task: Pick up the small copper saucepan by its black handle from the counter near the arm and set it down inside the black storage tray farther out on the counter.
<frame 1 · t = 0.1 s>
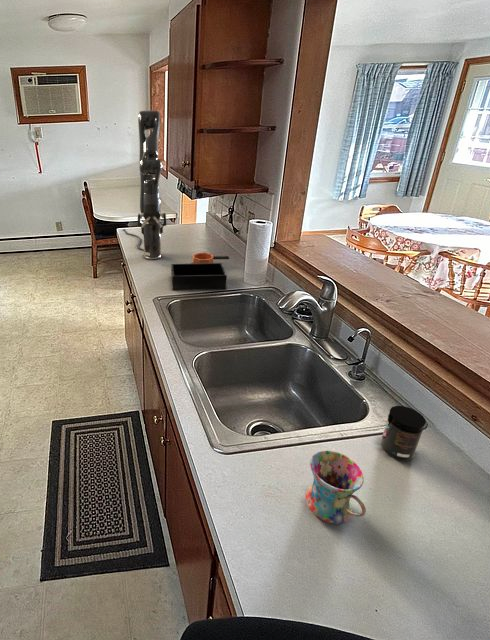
hand: (152, 234, 195), 17 cm above the counter, tool pointing down, fingers open, 8 cm apart
mug: (332, 512, 79), on the counter
pan: (202, 264, 201), on the counter
supplement container: (396, 450, 92), on the counter
black storage tray: (197, 282, 181), on the counter
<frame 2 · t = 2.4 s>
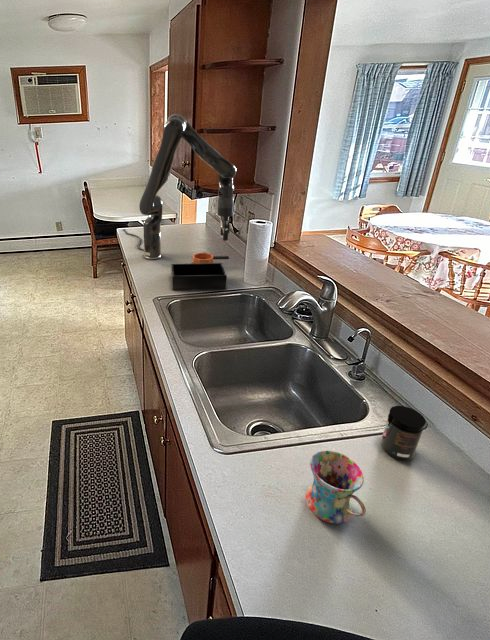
hand: (223, 237, 194), 14 cm above the counter, tool pointing down, fingers open, 8 cm apart
nothing on the counter moved.
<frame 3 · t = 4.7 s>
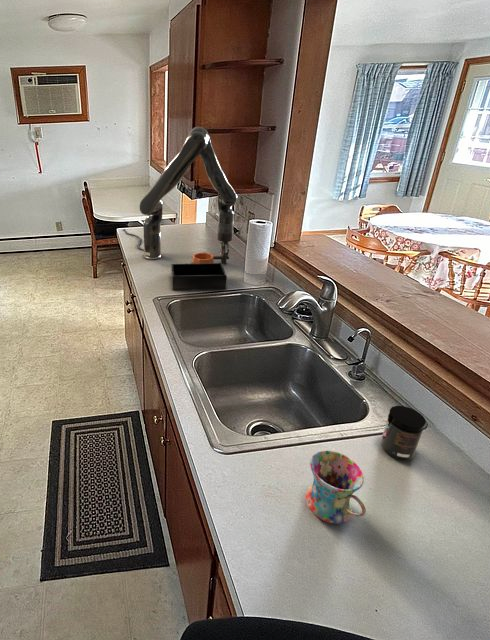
hand: (223, 263, 200), 0 cm above the counter, tool pointing down, fingers closed on pan
pan: (202, 264, 201), on the counter, touching gripper
everything else where it was.
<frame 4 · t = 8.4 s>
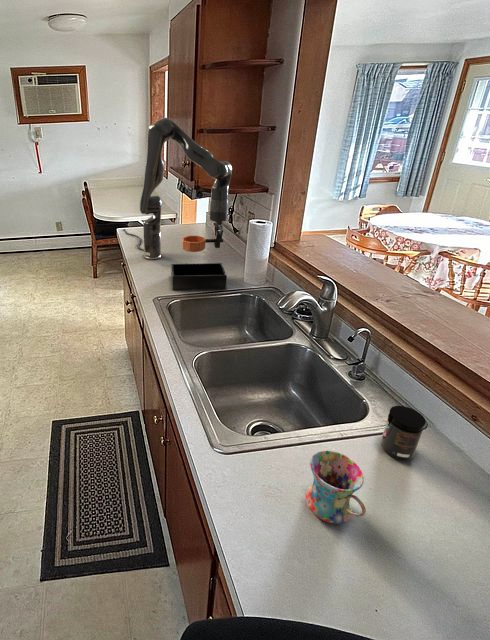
hand: (216, 246, 176), 17 cm above the counter, tool pointing down, fingers closed on pan
pan: (193, 248, 176), point 16 cm above the counter, touching gripper
everything else where it was.
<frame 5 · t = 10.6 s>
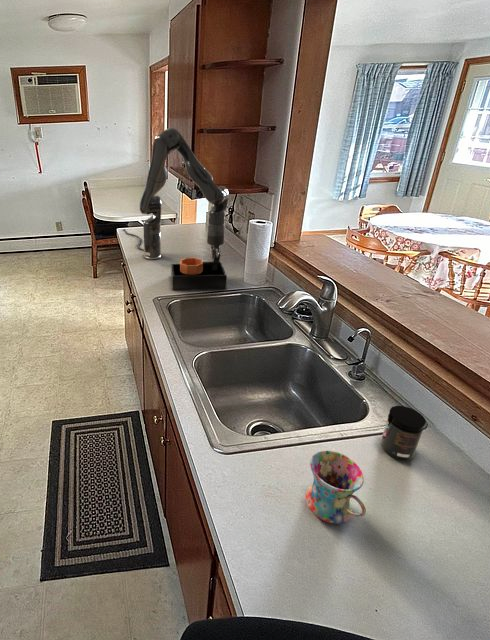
hand: (214, 269, 177), 7 cm above the counter, tool pointing down, fingers closed on pan
pan: (191, 270, 178), point 6 cm above the counter, touching gripper
everything else where it was.
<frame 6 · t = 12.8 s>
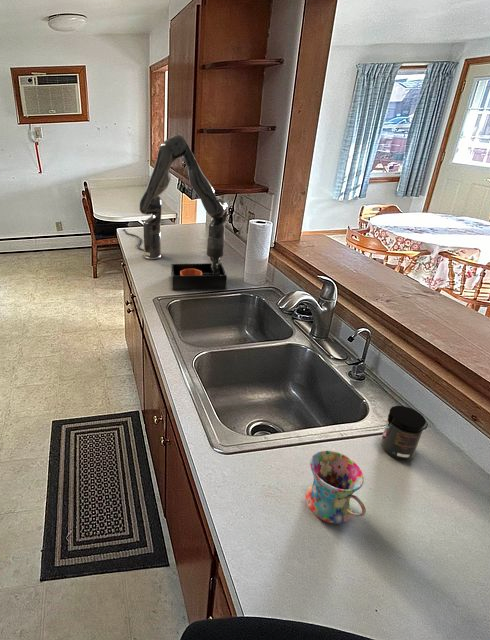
hand: (213, 279, 179), 2 cm above the counter, tool pointing down, fingers open, 6 cm apart
pan: (191, 281, 181), point 1 cm above the counter, touching black storage tray
everything else where it was.
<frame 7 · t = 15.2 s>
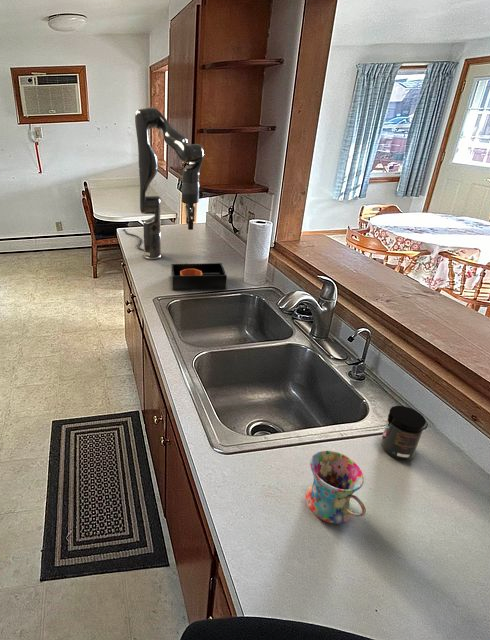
hand: (189, 226, 180), 24 cm above the counter, tool pointing down, fingers open, 8 cm apart
nothing on the counter moved.
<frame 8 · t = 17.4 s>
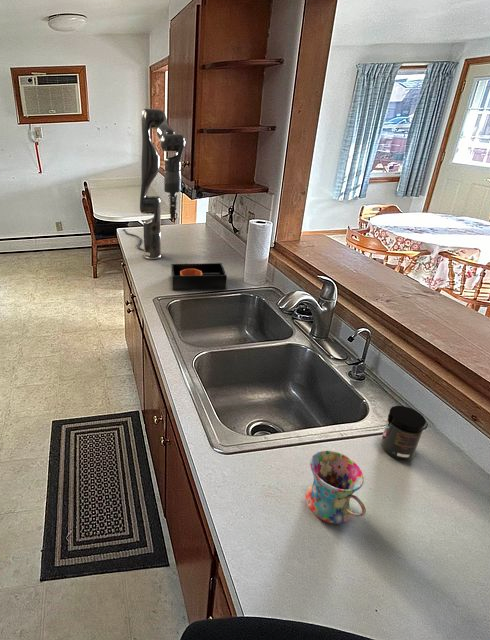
hand: (172, 215, 184), 28 cm above the counter, tool pointing down, fingers open, 8 cm apart
nothing on the counter moved.
at the end: pan inside the target area in the black storage tray (3.0 cm from its centre), point 0.8 cm above the black storage tray's base; pan tilted 0°; the gripper is holding nothing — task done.
